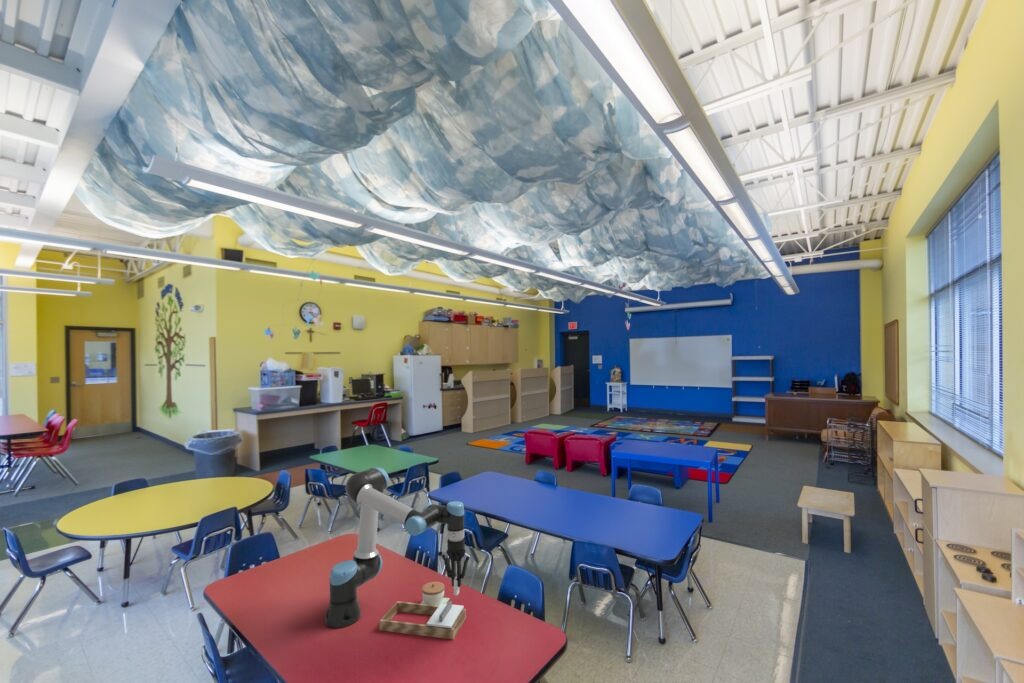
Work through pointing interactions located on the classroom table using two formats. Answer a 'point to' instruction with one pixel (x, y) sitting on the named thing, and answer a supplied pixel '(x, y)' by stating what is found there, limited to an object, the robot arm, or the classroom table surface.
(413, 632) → the wooden rectangular frame
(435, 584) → the lidded jar
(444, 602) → the mat
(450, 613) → the lid
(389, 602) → the classroom table surface
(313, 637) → the classroom table surface
